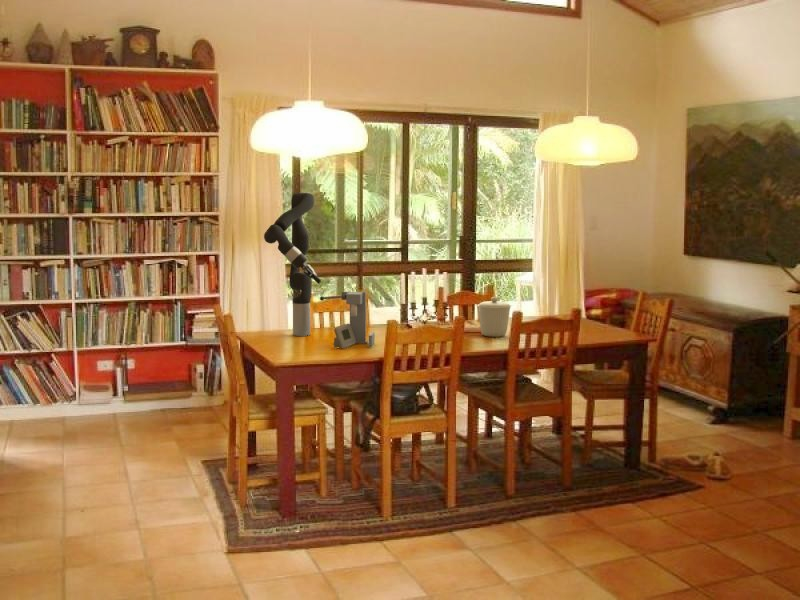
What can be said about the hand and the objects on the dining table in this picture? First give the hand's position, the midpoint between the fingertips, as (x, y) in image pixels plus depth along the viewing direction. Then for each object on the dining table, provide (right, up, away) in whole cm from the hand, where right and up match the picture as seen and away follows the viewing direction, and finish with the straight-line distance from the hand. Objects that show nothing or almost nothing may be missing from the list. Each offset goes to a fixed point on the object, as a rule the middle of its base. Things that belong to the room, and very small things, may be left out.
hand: (320, 282), depth 434 cm
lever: (+7, -9, +1) cm, 11 cm away
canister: (+90, -28, +30) cm, 99 cm away
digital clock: (+13, -32, -6) cm, 35 cm away
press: (+18, -31, -2) cm, 36 cm away
